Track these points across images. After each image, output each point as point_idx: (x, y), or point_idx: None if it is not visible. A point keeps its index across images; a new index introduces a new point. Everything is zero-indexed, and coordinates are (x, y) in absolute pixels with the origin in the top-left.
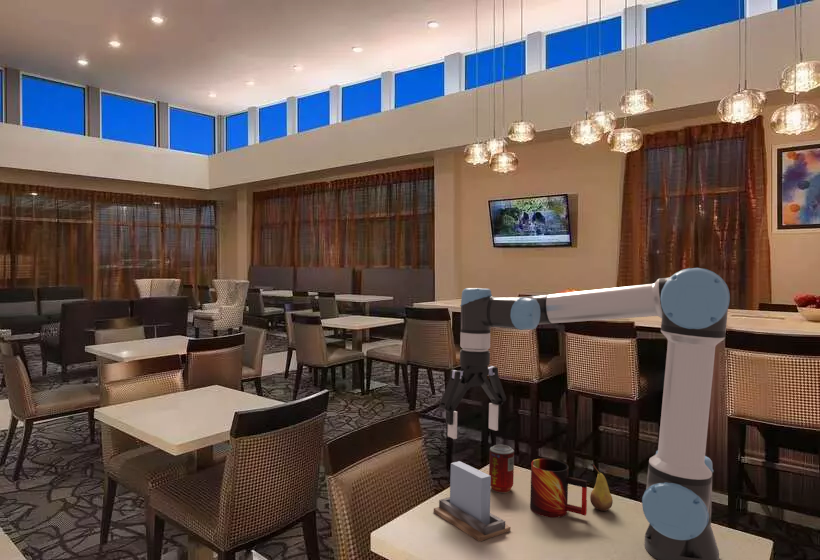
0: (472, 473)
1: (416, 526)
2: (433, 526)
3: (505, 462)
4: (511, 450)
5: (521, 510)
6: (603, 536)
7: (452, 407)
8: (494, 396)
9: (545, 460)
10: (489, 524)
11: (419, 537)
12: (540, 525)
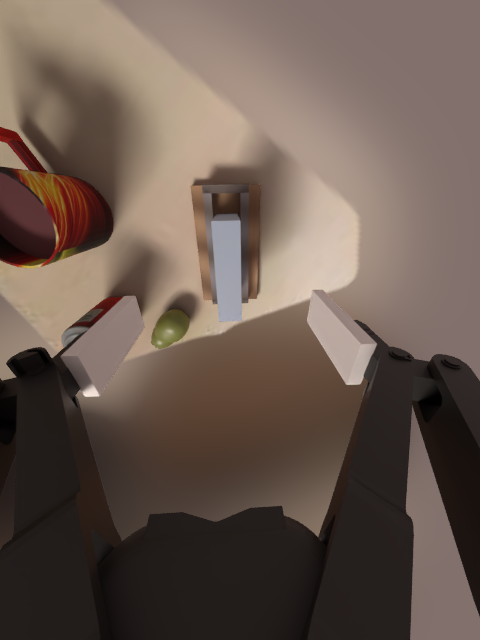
0: (239, 255)
1: (301, 274)
2: (283, 263)
3: (99, 319)
4: (69, 333)
5: (130, 236)
6: (16, 40)
7: (410, 363)
8: (52, 403)
9: (5, 258)
10: (234, 190)
11: (320, 246)
12: (128, 171)
